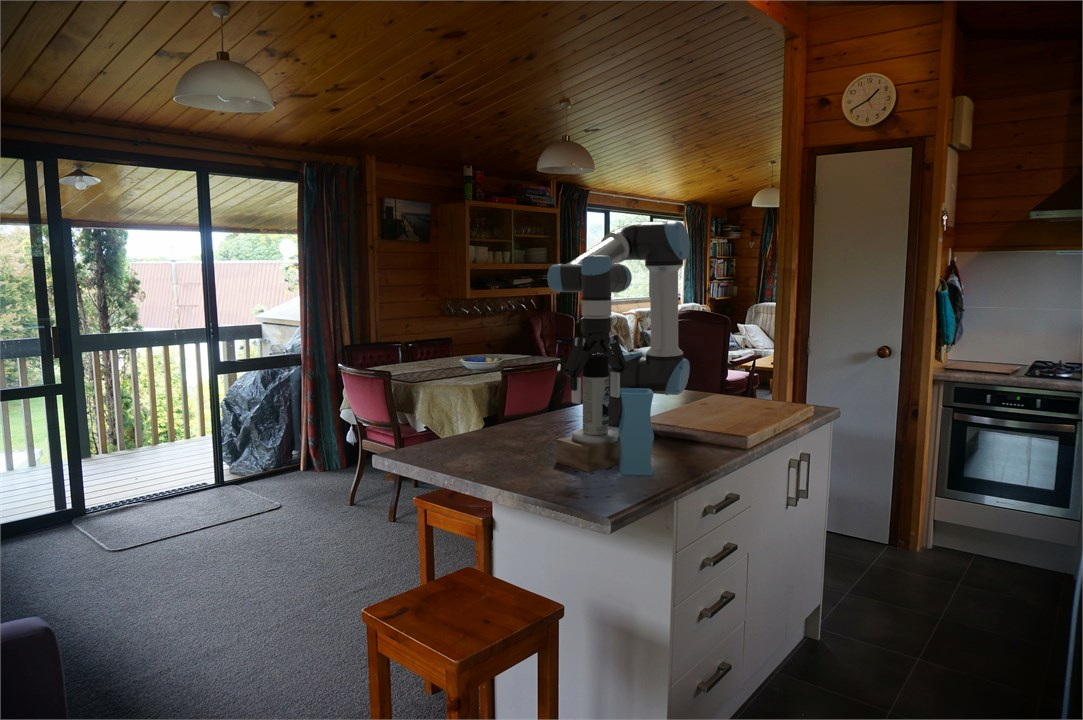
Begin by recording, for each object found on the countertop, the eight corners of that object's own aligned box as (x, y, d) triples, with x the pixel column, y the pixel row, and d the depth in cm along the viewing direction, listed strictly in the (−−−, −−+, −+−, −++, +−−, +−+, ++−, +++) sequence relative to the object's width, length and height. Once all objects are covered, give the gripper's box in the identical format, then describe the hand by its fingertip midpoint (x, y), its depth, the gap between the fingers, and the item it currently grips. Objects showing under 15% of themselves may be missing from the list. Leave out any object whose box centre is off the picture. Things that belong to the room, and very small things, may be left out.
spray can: (606, 436, 177) (608, 358, 175) (580, 435, 179) (581, 357, 176) (609, 431, 184) (610, 355, 181) (583, 430, 185) (584, 354, 183)
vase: (617, 466, 178) (618, 388, 175) (649, 466, 177) (650, 388, 175) (620, 475, 170) (621, 393, 168) (653, 475, 170) (654, 393, 167)
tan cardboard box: (601, 452, 192) (601, 425, 191) (633, 461, 182) (633, 433, 181) (556, 462, 182) (556, 433, 181) (587, 472, 172) (588, 442, 172)
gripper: (620, 314, 188) (620, 392, 191) (548, 318, 173) (549, 403, 176) (641, 315, 183) (640, 396, 185) (568, 320, 167) (568, 408, 170)
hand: (596, 400), depth 180 cm, fingers open, 13 cm apart
